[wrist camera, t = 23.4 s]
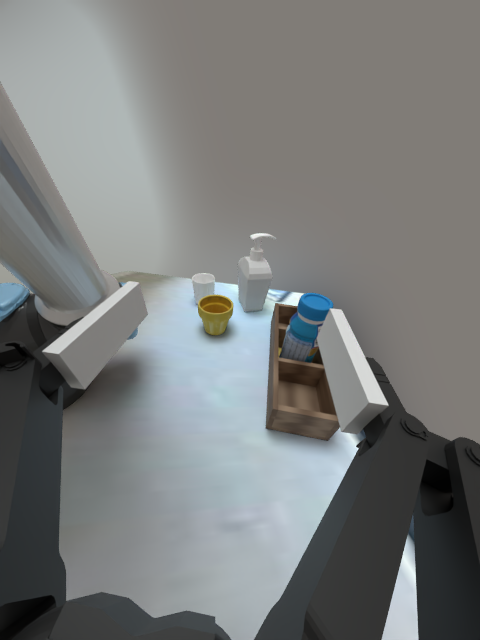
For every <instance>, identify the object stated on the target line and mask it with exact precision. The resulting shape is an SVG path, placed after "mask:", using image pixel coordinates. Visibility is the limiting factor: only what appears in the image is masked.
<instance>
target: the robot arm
mask: <svg viewBox="0 0 480 640" xmlns="http://www.w3.org/2000/svg"><path fill="white" fill-rule="evenodd" d="M0 263H1V264H2V265H3V266H4V267H5V268H6V269H7V270H8V271H10V272H11V273H12V274H13V275H14V276H15V277H16V278H18V279H19V280H20V281H21V282H22V283H23V284H24V285H25V286H26V287H28V288H29V289H30V290H31V291H32V292H33V293H34V294H30V293H29V289H27V288H25V287H24V286H23V285H21V284H16V283H2V284H0V640H231V639H230V637H229V636H228V635H227V634H226V632H225V631H224V630H223V629H222V628H221V627H220V626H218V625H217V624H216V623H215V617H214V616H209V615H205V614H200V613H195V612H191V611H183V612H179V613H175V614H171V615H167V616H163V617H159V618H153V617H151V616H150V615H149V614H147V613H146V612H145V611H144V610H143V609H141V608H140V607H139V606H138V605H137V604H135V603H134V602H133V601H132V600H130V599H129V598H126V597H121V596H117V595H112V594H108V593H103V592H100V593H96V594H93V595H89V596H85V597H81V598H77V599H73V600H69V601H66V570H65V565H64V562H63V560H62V558H61V556H60V554H59V515H60V482H61V449H62V416H63V409H65V408H66V407H68V406H69V405H71V404H72V403H73V402H75V401H76V400H77V399H78V398H79V397H80V396H81V395H82V394H83V393H84V392H85V391H86V389H87V388H88V386H89V385H90V383H91V382H92V381H93V380H94V378H95V377H96V376H97V375H98V374H99V372H100V371H101V370H102V369H103V368H104V366H105V365H106V364H107V363H108V362H109V360H110V359H111V358H112V357H113V356H114V354H115V353H116V352H117V351H118V350H119V348H120V347H121V346H122V345H123V344H124V342H125V341H126V340H129V339H133V338H134V337H136V335H137V333H138V329H137V327H138V326H139V324H140V323H141V322H142V321H143V320H144V318H145V317H146V316H147V315H148V312H147V309H146V305H145V301H144V298H143V294H142V290H141V286H140V283H138V282H130V281H129V282H127V283H122V282H119V283H118V282H117V280H116V279H115V278H114V277H113V276H112V275H111V274H109V273H108V272H106V271H104V270H101V269H100V268H99V266H98V264H97V263H96V261H95V259H94V257H93V255H92V253H91V251H90V250H89V248H88V246H87V244H86V242H85V240H84V238H83V236H82V234H81V233H80V231H79V229H78V227H77V225H76V223H75V221H74V219H73V217H72V216H71V214H70V212H69V210H68V208H67V206H66V204H65V202H64V201H63V199H62V197H61V195H60V193H59V191H58V190H57V187H56V186H55V184H54V182H53V180H52V178H51V176H50V174H49V173H48V171H47V169H46V167H45V165H44V163H43V161H42V159H41V158H40V156H39V154H38V152H37V150H36V148H35V146H34V144H33V142H32V140H31V139H30V137H29V135H28V133H27V131H26V129H25V128H24V125H23V124H22V122H21V120H20V118H19V116H18V114H17V112H16V110H15V109H14V107H13V105H12V103H11V101H10V99H9V97H8V95H7V94H6V92H5V90H4V88H3V86H2V84H1V82H0ZM317 342H318V346H319V349H320V353H321V357H322V361H323V364H324V368H325V372H326V376H327V380H328V383H329V387H330V391H331V395H332V398H333V402H334V406H335V410H336V413H337V417H338V421H339V425H340V429H341V432H346V433H352V434H358V433H359V432H360V431H362V430H363V429H364V432H365V435H366V438H365V439H363V440H362V441H361V442H360V443H359V444H358V445H357V446H356V447H358V448H359V449H358V451H357V453H356V455H355V457H354V459H353V461H352V462H351V464H350V466H349V468H348V470H347V472H346V474H345V476H344V478H343V480H342V482H341V484H340V486H339V487H338V489H337V491H336V493H335V495H334V497H333V499H332V501H331V503H330V505H329V507H328V509H327V510H326V512H325V514H324V516H323V518H322V520H321V522H320V524H319V526H318V528H317V530H316V532H315V533H314V535H313V537H312V539H311V541H310V543H309V545H308V547H307V549H306V551H305V553H304V555H303V556H302V558H301V560H300V562H299V564H298V566H297V568H296V570H295V572H294V574H293V576H292V578H291V580H290V581H289V583H288V585H287V587H286V589H285V591H284V593H283V595H282V596H281V598H280V599H279V601H278V602H277V603H276V604H275V605H274V606H273V608H272V609H271V610H270V612H269V613H268V615H267V617H266V619H265V620H264V622H263V624H262V626H261V628H260V630H259V632H258V633H257V635H256V637H255V639H254V640H381V639H382V635H383V631H384V627H385V623H386V619H387V615H388V611H389V607H390V603H391V599H392V595H393V591H394V587H395V583H396V579H397V575H398V571H399V567H400V563H401V559H402V555H403V551H404V547H405V543H406V539H407V535H408V531H409V527H410V523H411V519H412V515H413V516H414V540H415V564H416V587H417V611H418V635H419V640H480V445H479V444H478V443H476V442H475V441H473V440H470V439H467V438H462V437H459V438H457V439H455V440H453V441H450V440H447V439H445V438H443V437H441V436H438V435H436V434H434V433H431V432H429V431H428V430H427V428H426V427H425V426H424V425H423V424H422V423H421V422H420V421H419V420H418V419H417V418H415V417H414V416H412V415H410V414H408V413H407V412H406V411H405V409H404V407H403V405H402V404H401V402H400V400H399V398H398V396H397V395H396V393H395V391H394V389H393V387H392V385H391V384H390V382H389V380H388V378H387V377H386V374H385V373H384V371H383V369H382V367H381V366H380V365H379V364H378V363H377V362H376V361H375V360H374V359H373V358H367V357H365V356H364V354H363V352H362V350H361V348H360V346H359V344H358V342H357V340H356V338H355V336H354V334H353V332H352V330H351V328H350V326H349V324H348V322H347V320H346V318H345V316H344V314H343V312H342V310H338V309H331V308H330V309H329V312H328V314H327V316H326V318H325V320H324V323H323V325H322V327H321V329H320V332H319V334H318V336H317Z"/></svg>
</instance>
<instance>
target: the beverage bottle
mask: <svg viewBox="0 0 480 640" xmlns="http://www.w3.org/2000/svg"><path fill="white" fill-rule="evenodd" d="M330 308H331V309H333V303H332V301H330V299H328V298H327V297H325V296H323V295H320V294H316V293H306V294H303V295H302V296H301V298H300V300H299V303H298V307H297V311H298V312H296V313H295V314H294V315H293V316H292V317H291V319H290V322H289V325H288V327H287V330H286V335H285V339H284V342H283V346H282V349H281V353H280V355H279V358H285V359H291V360H296V361H302V362H308V363H311V362H312V360H313V358H314V356H315V353H316V351H317V349H318V347H319V346H318V342H317V336H318V334H319V332H320V329H321V327H322V325H323V323H324V320H325V318H326V316H327V314H328V312H329V309H330Z"/></svg>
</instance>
